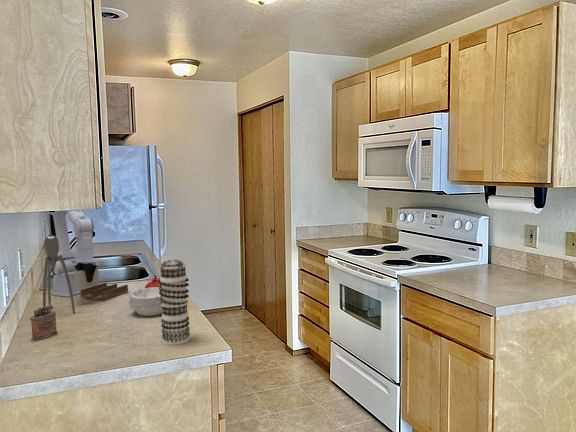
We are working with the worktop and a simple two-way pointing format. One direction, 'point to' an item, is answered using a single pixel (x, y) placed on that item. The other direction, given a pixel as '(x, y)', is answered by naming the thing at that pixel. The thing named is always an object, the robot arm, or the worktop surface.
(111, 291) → the rack
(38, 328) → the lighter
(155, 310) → the white bowl
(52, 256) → the juicer
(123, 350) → the worktop surface
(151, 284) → the pomegranate
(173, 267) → the white tower model
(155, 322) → the worktop surface
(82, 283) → the clay block
